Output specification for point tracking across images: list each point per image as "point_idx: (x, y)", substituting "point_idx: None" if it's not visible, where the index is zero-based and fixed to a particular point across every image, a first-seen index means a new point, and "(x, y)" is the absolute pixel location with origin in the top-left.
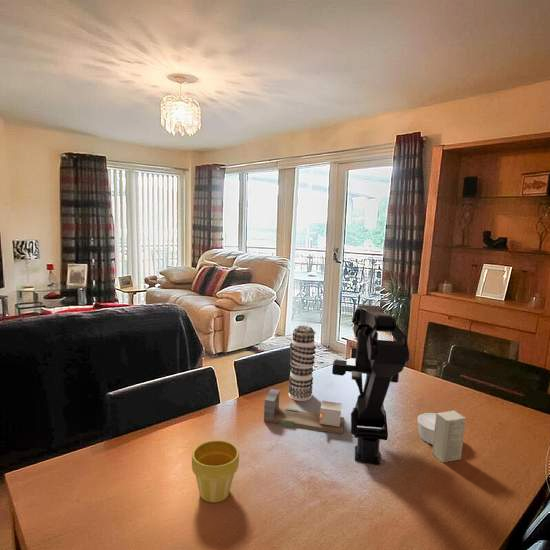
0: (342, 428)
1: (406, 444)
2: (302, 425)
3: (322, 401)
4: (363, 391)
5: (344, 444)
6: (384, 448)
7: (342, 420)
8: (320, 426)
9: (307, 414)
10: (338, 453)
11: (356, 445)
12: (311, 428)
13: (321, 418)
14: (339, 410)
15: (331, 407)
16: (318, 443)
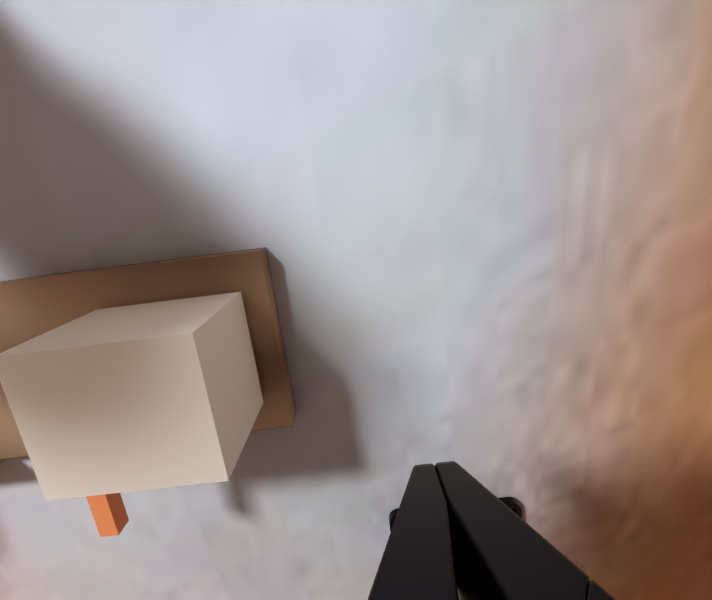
0: (285, 400)
1: (683, 369)
2: None
3: (1, 376)
4: (469, 595)
5: (328, 503)
6: (546, 457)
7: (260, 299)
8: None
9: (2, 321)
10: (315, 579)
11: (395, 515)
12: None
13: (120, 528)
14: (214, 476)
15: (129, 454)
16: (198, 543)
